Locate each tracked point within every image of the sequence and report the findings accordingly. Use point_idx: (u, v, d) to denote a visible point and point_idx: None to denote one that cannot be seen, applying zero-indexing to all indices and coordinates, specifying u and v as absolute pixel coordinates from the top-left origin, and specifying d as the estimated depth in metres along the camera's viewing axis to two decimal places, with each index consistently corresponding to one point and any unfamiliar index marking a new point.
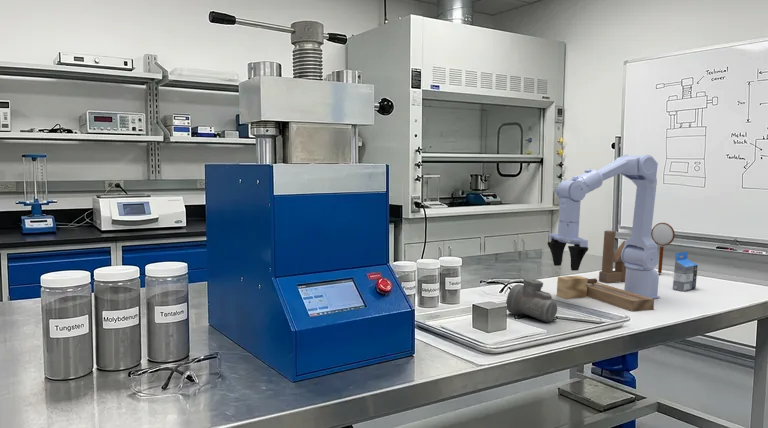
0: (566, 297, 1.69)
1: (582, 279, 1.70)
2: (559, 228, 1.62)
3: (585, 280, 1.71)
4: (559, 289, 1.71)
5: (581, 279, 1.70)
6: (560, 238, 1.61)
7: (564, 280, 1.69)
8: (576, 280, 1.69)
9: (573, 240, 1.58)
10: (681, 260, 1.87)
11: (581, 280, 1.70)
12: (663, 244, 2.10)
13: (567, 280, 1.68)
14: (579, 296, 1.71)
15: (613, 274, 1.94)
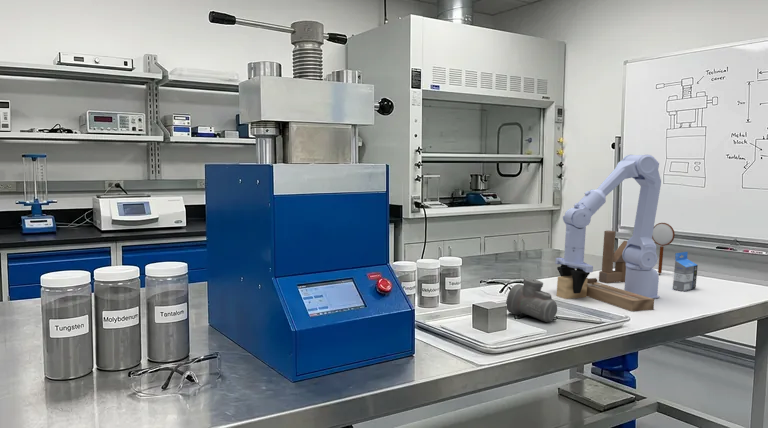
0: (566, 297, 1.69)
1: None
2: (565, 253, 1.70)
3: (585, 280, 1.71)
4: (559, 289, 1.71)
5: None
6: (566, 263, 1.69)
7: (564, 280, 1.69)
8: None
9: (579, 265, 1.66)
10: (681, 260, 1.87)
11: None
12: (663, 244, 2.10)
13: (567, 280, 1.68)
14: (579, 296, 1.71)
15: (613, 274, 1.94)
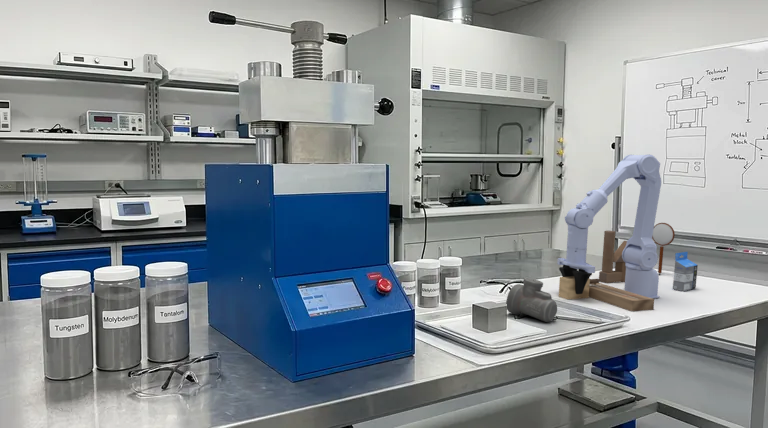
0: (568, 297, 1.68)
1: None
2: (567, 254, 1.69)
3: (587, 281, 1.70)
4: (561, 289, 1.70)
5: None
6: (568, 264, 1.68)
7: (566, 280, 1.68)
8: None
9: (581, 266, 1.65)
10: (681, 260, 1.87)
11: None
12: (663, 244, 2.10)
13: (569, 280, 1.67)
14: (581, 296, 1.70)
15: (613, 274, 1.94)
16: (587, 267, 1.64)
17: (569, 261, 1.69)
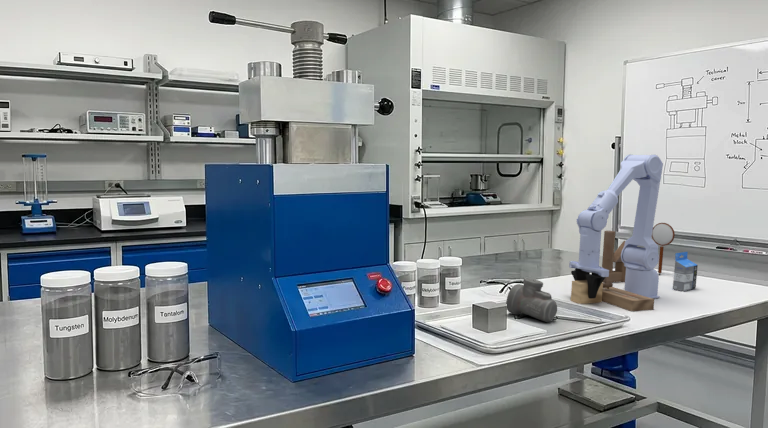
0: (581, 302, 1.63)
1: None
2: (580, 257, 1.64)
3: (600, 285, 1.65)
4: (573, 293, 1.65)
5: None
6: (581, 267, 1.63)
7: (579, 284, 1.63)
8: None
9: (594, 270, 1.60)
10: (681, 260, 1.87)
11: None
12: (663, 244, 2.10)
13: (582, 284, 1.62)
14: (594, 301, 1.65)
15: (613, 274, 1.94)
16: (601, 271, 1.59)
17: (582, 264, 1.63)
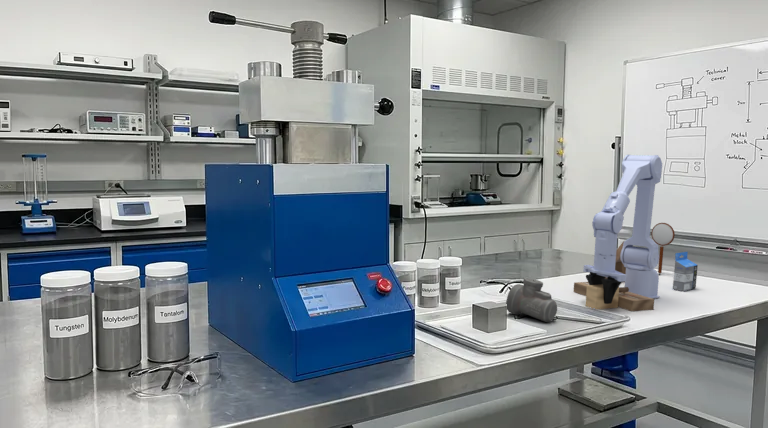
0: (596, 307, 1.57)
1: None
2: (595, 261, 1.58)
3: None
4: (588, 299, 1.59)
5: None
6: (597, 271, 1.57)
7: (594, 289, 1.57)
8: None
9: (610, 274, 1.54)
10: (681, 260, 1.87)
11: None
12: (663, 244, 2.10)
13: (598, 289, 1.56)
14: (610, 306, 1.59)
15: None
16: (617, 275, 1.53)
17: (597, 268, 1.58)
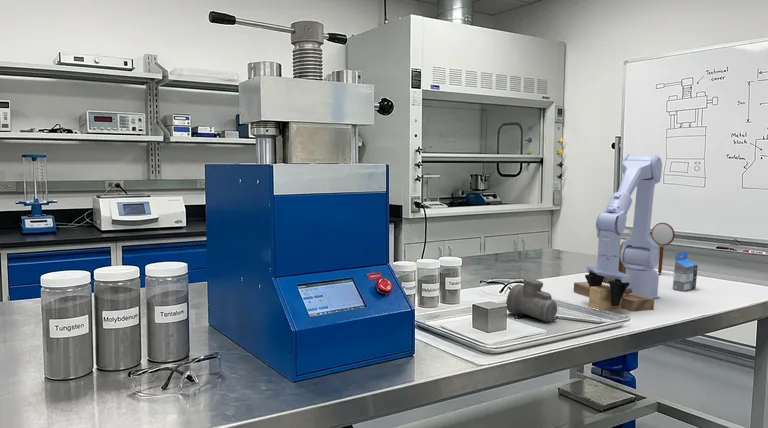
0: (600, 309, 1.56)
1: None
2: (598, 262, 1.57)
3: None
4: (592, 300, 1.58)
5: None
6: (600, 272, 1.56)
7: (597, 290, 1.56)
8: (610, 290, 1.57)
9: (614, 275, 1.53)
10: (681, 260, 1.87)
11: None
12: (663, 244, 2.10)
13: (601, 290, 1.55)
14: (613, 308, 1.58)
15: None
16: (621, 276, 1.52)
17: (600, 269, 1.56)
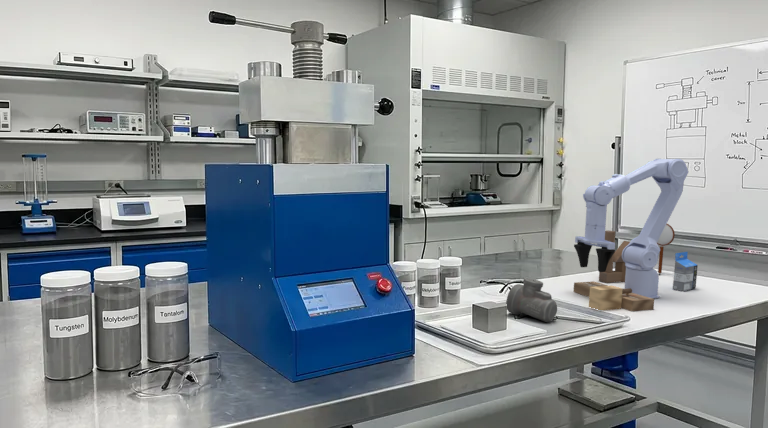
0: (600, 309, 1.56)
1: (617, 289, 1.57)
2: (586, 231, 1.69)
3: (619, 291, 1.58)
4: (592, 300, 1.58)
5: (616, 289, 1.57)
6: (588, 241, 1.68)
7: (597, 290, 1.56)
8: (610, 290, 1.57)
9: (601, 243, 1.65)
10: (681, 260, 1.87)
11: (616, 290, 1.57)
12: (663, 244, 2.10)
13: (601, 291, 1.55)
14: (613, 308, 1.58)
15: (613, 274, 1.94)
16: (607, 243, 1.64)
17: (588, 238, 1.68)
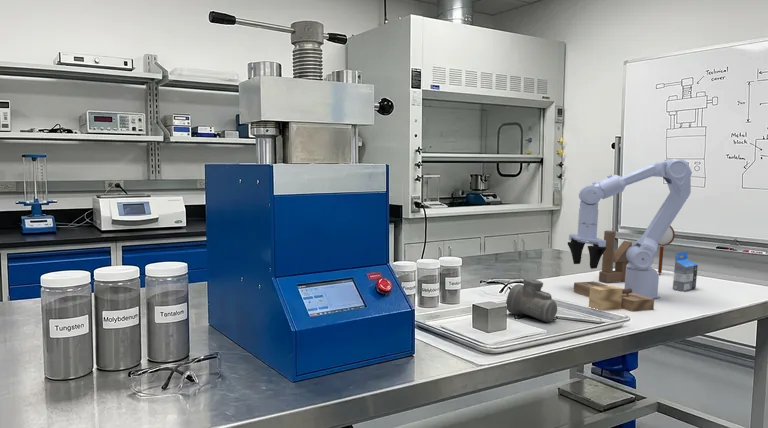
0: (600, 309, 1.56)
1: (617, 289, 1.57)
2: (579, 229, 1.76)
3: (620, 291, 1.58)
4: (592, 300, 1.58)
5: (616, 289, 1.57)
6: (580, 238, 1.75)
7: (597, 290, 1.56)
8: (610, 290, 1.57)
9: (592, 240, 1.72)
10: (681, 260, 1.87)
11: (616, 290, 1.57)
12: (663, 244, 2.10)
13: (601, 290, 1.55)
14: (613, 308, 1.58)
15: (613, 274, 1.94)
16: (598, 241, 1.71)
17: (580, 236, 1.75)
